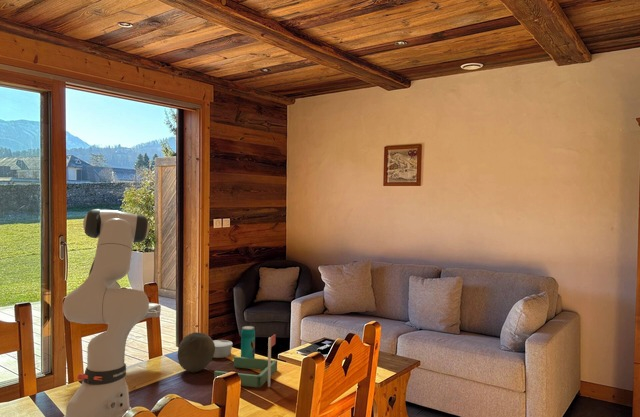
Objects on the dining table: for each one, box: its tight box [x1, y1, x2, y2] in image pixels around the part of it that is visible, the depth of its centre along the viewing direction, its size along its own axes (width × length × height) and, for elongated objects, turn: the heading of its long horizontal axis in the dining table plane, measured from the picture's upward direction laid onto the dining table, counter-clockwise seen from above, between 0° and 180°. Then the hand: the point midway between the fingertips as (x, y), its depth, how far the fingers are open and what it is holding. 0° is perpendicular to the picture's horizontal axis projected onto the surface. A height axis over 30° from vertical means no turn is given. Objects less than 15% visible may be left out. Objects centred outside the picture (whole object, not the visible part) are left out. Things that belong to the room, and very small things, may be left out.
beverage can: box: [240, 325, 256, 358], centre depth 211 cm, size 6×6×15 cm
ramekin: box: [213, 339, 233, 359], centre depth 221 cm, size 11×11×5 cm
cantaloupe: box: [177, 331, 215, 374], centre depth 200 cm, size 14×14×15 cm
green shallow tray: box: [213, 334, 278, 388], centre depth 194 cm, size 19×22×18 cm
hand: (158, 314), depth 204 cm, fingers closed
